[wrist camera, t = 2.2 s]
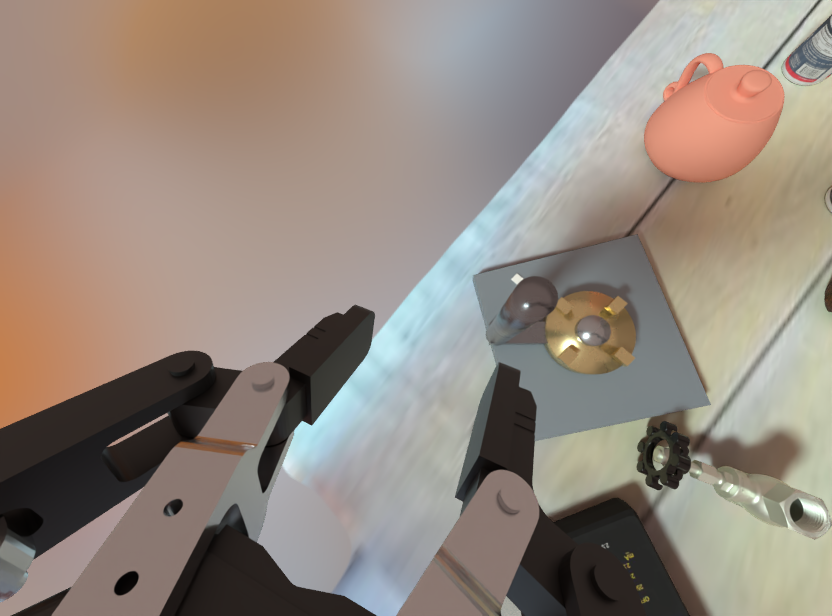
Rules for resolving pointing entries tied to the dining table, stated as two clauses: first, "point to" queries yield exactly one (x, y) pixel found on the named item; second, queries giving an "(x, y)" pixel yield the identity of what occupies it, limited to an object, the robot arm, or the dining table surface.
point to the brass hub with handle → (567, 326)
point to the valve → (733, 485)
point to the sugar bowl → (713, 121)
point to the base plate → (614, 391)
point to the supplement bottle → (829, 199)
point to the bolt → (828, 297)
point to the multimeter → (628, 552)
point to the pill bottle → (811, 58)
